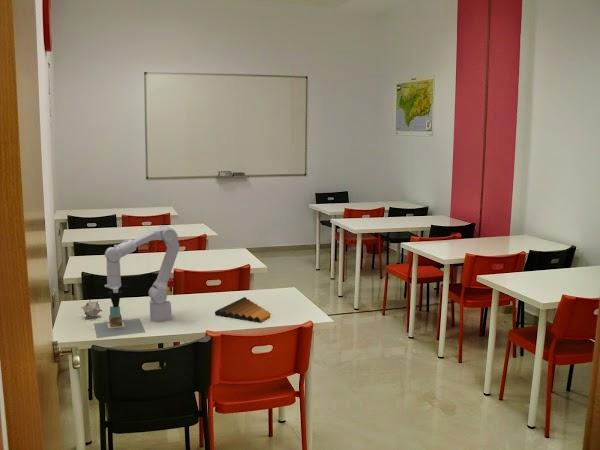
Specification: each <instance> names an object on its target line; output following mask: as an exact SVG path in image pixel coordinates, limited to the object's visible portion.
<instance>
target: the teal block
mask: <svg viewBox="0 0 600 450" xmlns="http://www.w3.org/2000/svg"><path fill="white" fill-rule="evenodd" d="M120 314H121V308H120V305H119V306H118V307H113V306H109V315H110V317H111V318H117V317H120Z"/></svg>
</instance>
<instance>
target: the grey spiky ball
mask: <svg viewBox="0 0 600 450" xmlns="http://www.w3.org/2000/svg"><path fill="white" fill-rule="evenodd" d="M98 302H99V300H97V301H91V299H89V301H88V302H86V304H85V305H84V306H83V307H82V306H81V309H83V311H84V315H85V318H87V317H90V318H93V320H95V318H96V315H97V316H98V314H99V313H101V312H103V310H102V309H101V307H100V304H99V303H98Z"/></svg>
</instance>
